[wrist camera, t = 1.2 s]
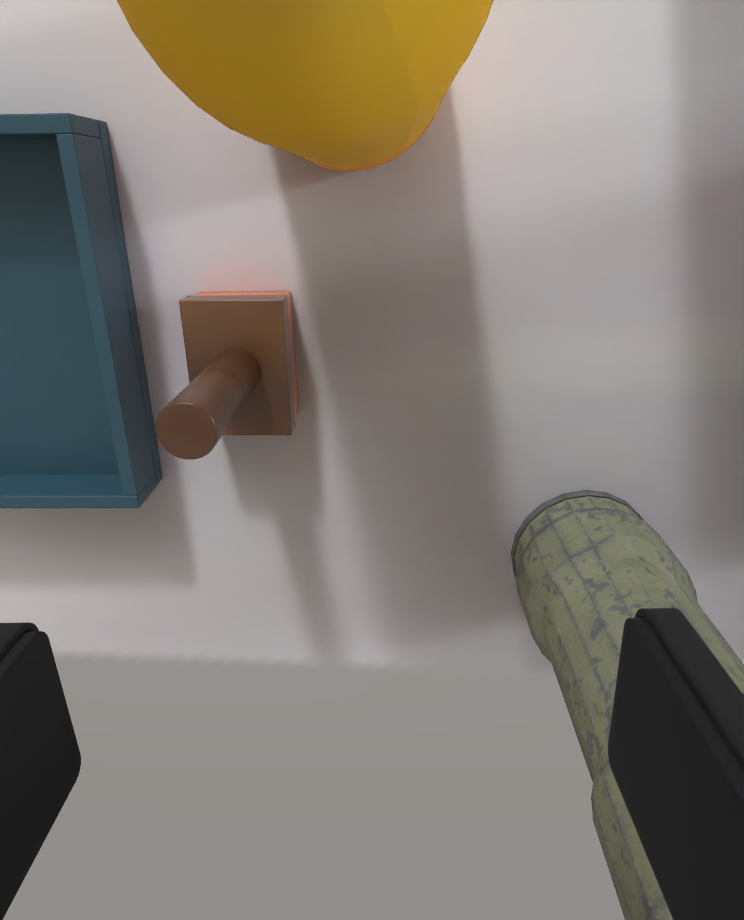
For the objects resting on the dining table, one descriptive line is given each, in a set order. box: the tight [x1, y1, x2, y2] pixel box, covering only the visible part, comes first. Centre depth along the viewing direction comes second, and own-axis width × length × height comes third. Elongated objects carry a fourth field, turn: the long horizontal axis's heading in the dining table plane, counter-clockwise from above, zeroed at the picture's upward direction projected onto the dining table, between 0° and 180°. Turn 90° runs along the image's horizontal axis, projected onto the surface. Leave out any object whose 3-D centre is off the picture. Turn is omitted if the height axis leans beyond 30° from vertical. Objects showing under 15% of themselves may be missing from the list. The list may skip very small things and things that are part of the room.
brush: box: [156, 291, 298, 459], centre depth 30 cm, size 7×5×12 cm
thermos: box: [511, 490, 744, 920], centre depth 24 cm, size 9×12×35 cm
